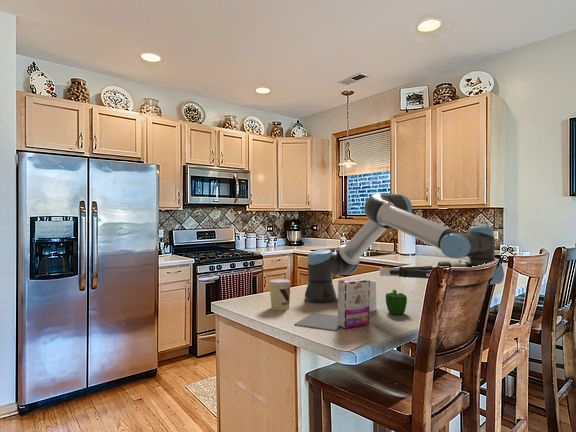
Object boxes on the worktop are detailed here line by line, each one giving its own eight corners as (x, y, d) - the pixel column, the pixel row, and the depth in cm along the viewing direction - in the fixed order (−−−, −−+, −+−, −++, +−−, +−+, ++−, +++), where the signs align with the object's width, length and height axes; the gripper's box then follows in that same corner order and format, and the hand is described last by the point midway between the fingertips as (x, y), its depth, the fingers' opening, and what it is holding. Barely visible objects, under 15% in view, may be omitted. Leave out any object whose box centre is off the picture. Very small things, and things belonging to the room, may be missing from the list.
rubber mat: (294, 325, 130) (294, 324, 130) (312, 313, 145) (312, 312, 145) (335, 331, 122) (335, 329, 122) (350, 318, 137) (350, 317, 137)
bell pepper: (394, 309, 149) (394, 285, 149) (411, 313, 142) (410, 289, 142) (380, 312, 145) (380, 288, 145) (396, 317, 138) (396, 291, 138)
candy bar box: (360, 321, 133) (362, 277, 133) (369, 325, 129) (370, 280, 128) (336, 324, 128) (337, 279, 128) (344, 329, 123) (345, 282, 123)
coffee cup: (283, 312, 148) (283, 283, 148) (265, 309, 153) (265, 281, 153) (294, 307, 156) (294, 279, 156) (277, 304, 161) (277, 278, 161)
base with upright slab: (356, 311, 147) (356, 282, 147) (353, 306, 156) (353, 279, 156) (378, 311, 147) (377, 282, 147) (374, 306, 156) (373, 278, 156)
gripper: (446, 259, 127) (378, 259, 132) (455, 263, 114) (380, 263, 119) (447, 280, 127) (379, 279, 132) (456, 287, 114) (380, 285, 119)
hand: (380, 271), depth 126 cm, fingers closed
